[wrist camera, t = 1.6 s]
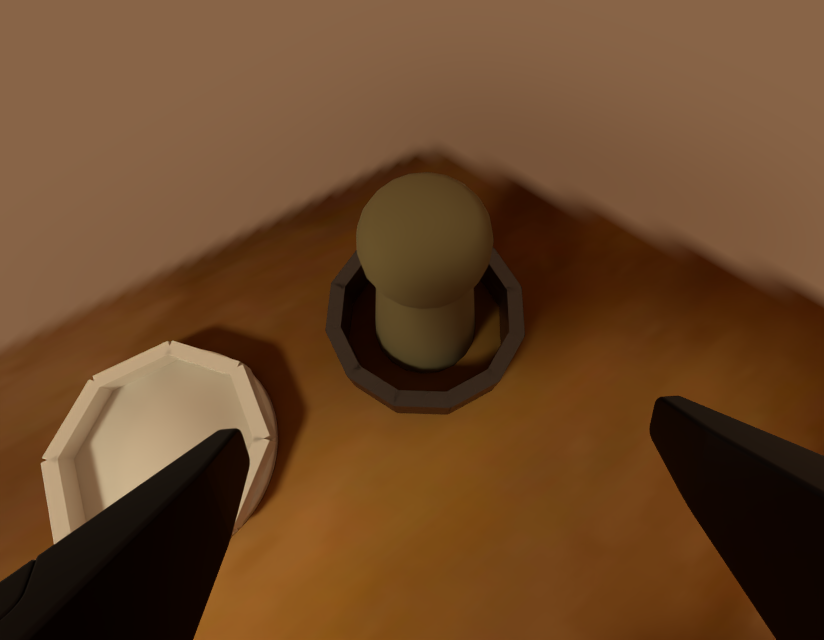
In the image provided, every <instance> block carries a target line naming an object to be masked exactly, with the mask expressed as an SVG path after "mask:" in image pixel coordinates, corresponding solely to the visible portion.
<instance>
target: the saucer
mask: <svg viewBox="0 0 824 640" xmlns="http://www.w3.org/2000/svg"><path fill="white" fill-rule="evenodd" d="M93 379H94V381H92V380H88V382H87V384H86V385H85V387H84V389H83V390H82V392H81V394H80V395H79V397H78V399H77V400H76V402H75V404H74V405H73V407H72V409H71V410H70V412H69V414H68V415H67V417H66V419H65V420H64V422H63V424H62V425H61V427H60V429H59V430H58V432H57V434H56V435H55V437H54V439H53V440H52V442H51V444H50V445H49V447H48V449H47V450H46V452H45V454H44V455H43V457H42V458H43V459H46V461H44V462H42V463H41V468H42V474H43V480H44V486H45V492H46V498H47V504H48V510H49V516H50V522H51V528H52V535H53V541H54V544H56V543H57V542H58V541H60V540H61V539H63V538H64V537H66V536H67V535H68V534H70V533H71V532H73V531H74V530H76V529H77V528H78V527H80V526H81V525H83V524H84V523H86V522H87V521H89V520H90V519H91V518H93V517H94V516H96V515H97V514H99V513H100V512H101V511H103V510H104V509H106V508H107V507H109V506H110V505H111V504H113V503H114V502H116V501H117V500H119V499H120V498H121V497H123V496H124V495H126V494H127V493H129V492H130V491H132V490H133V489H134V488H136V487H137V486H139V485H140V484H142V483H143V482H144V481H146V480H147V479H149V478H150V477H152V476H153V475H154V474H156V473H157V472H159V471H160V470H162V469H163V468H165V467H166V466H167V465H169V464H170V463H172V462H173V461H175V460H176V459H177V458H179V457H180V456H182V455H183V454H185V453H186V452H187V451H189V450H190V449H192V448H193V447H195V446H196V445H198V444H199V443H200V442H202V441H203V440H205V439H206V438H208V437H209V436H210V435H212V434H213V433H215V432H216V431H218V430H220V429H230V428H237V429H239V430H240V431H241V432H242V435H243V438H244V441H245V444H246V447H247V451H248V454H249V458H250V467H249V471H248V475H247V479H246V483H245V487H244V491H243V495H242V498H241V502H240V506H239V510H238V514H237V518H236V521H235V525H234V529H233V532H232V536H233V535H234V534H235V533H236V532H237V531H238V530H239V529H240V528H241V527H242V526H243V525H244V524H245V522H246V521H247V520H248V518H249V517H250V516H251V515H252V513H253V512H254V511H255V509H256V507H257V506H258V504H259V502H260V501H261V499H262V498H263V495H264V493H265V491H266V489H267V487H268V485H269V482H270V479H271V476H272V473H273V470H274V466H275V462H276V457H277V449H278V425H277V419H276V414H275V411H274V407H273V404H272V401H271V399H270V397H269V395H268V393H267V391H266V390H265V388H264V387H263V385H262V384H261V382H260V381H259V380H258V379H257V378H256V377H255V376H254V374H253V373H252V371H251V369H250V368H248V367H247V365H245V364H243V363H242V362H240V361H237V360H233V359H230V358H228V357H226V356H224V355H221V354H219V353H216V352H212V351H208V350H201V349H198V348H195V347H192V346H188V345H185V344H182V343H179V342H176V341H172V342H169V341H167V342H165V343H162V344H160V345H158V346H156V347H154V348H152V349H150V350H147V351H145V352H143V353H141V354H139V355H137V356H135V357H132V358H130V359H128V360H126V361H124V362H122V363H120V364H118V365H115V366H113V367H111V368H109V369H107V370H105V371H103V372H100V373H98V374H96V375H94V376H93ZM232 536H231V537H232Z"/></svg>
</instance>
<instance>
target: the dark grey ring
mask: <svg viewBox="0 0 824 640" xmlns="http://www.w3.org/2000/svg"><path fill="white" fill-rule="evenodd" d="M480 280H481V281H482V283H483V284H484V286H485V287H486V289H487V290H488V292H489V293H490V295H491V296H492V298H493V299H494V301H495V302H496V304H497V305H498V307H499V316H500V338H501V346H500V348H499V349H498V351H497V353H496V355H495V356H494V358H493V360H492V362H491V363H490V365H489V367H488V369H487V370H486V371H484V372H482V373H480V374H478V375H476V376H474V377H473V378H471V379H469V380H467V381H465V382H463V383H462V384H460V385H458V386H456V387H454V388H452V389H450V390H449V391H447V392H440V391H409V390H397V389H396V388H394V387H393V386H391V385H390V384H388V383H386V382H385V381H383V380H382V379H380V378H378V377H377V376H375V375H374V374H372V373H370V372H369V371H367V370H366V369H364V368H362V366H361V364H360V362H359V360H358V358H357V356H356V354H355V352H354V350H353V348H352V346H351V344H350V342H349V337H350V327H351V317H352V307H353V303H354V302H355V301H356V299H357V298H358V296H359V295H360V294H361V292H362V291H363V290H364V288H365V287H366V285H367V284H368V283H369V280H368V279H367V277H366V275H365V272H364V270H363V267H362V265H361V263H360V260H359V257H358V255H357V250H356V251H355V253H354V254H353V255H352V257H351V258H350V259H349V261H348V262H347V263H346V264H345V266H344V267H343V268H342V270H341V271H340V272H339V274H338V275H337V276H336V278H335V279H334V280H333V281H332V283H331V290H330V298H329V306H328V314H327V322H326V333H327V335H328V337H329V339H330V341H331V343H332V345H333V348H334V350H335V352H336V354H337V356H338V358H339V360H340V362H341V364H342V366H343V369H344V371H345V373H346V375H347V377H348V378H349V379H350V380H351V381H352V383H353V384H354V385H355V386H356V387H358V388H359V389H361V390H362V391H364V392H365V393H367V394H368V395H370V396H372V397H373V398H375V399H376V400H378V401H379V402H381V403H382V404H384V405H386V406H387V407H389V408H390V409H392V410H393V411H395V412H396V413H418V414H447V415H448V414H450V413H452V412H453V411H455V410H457V409H459V408H461V407H463V406H464V405H466V404H468V403H470V402H472V401H473V400H475V399H477V398H479V397H481V396H482V395H484V394H486V393H488V392H490V391H491V390H492V389H493V388H494V387H495V386H496V385H497V383H498V382H499V381H500V379H501V378H502V376H503V374H504V372H505V370H506V369H507V367H508V365H509V363H510V361H511V360H512V358H513V356H514V354H515V352H516V351H517V349H518V347H519V345H520V343H521V342H522V340H523V338H524V336H525V330H524V315H523V301H522V287H521V285H520V284H519V282H518V281H517V280H516V278H515V277H514V275H513V274H512V272H511V271H510V270H509V268H508V267H507V265H506V264H505V263H504V261H503V260H502V258H501V257H500V255H499V254H498V253H497V251H496V250H495V248H494V247H493V248H492V253H491V258H490V262H489V265H488V267H487V269H486V271H485V272H484V274H483V276H482V277H481V279H480Z"/></svg>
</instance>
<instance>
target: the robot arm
mask: <svg viewBox="0 0 824 640" xmlns="http://www.w3.org/2000/svg"><path fill="white" fill-rule="evenodd" d="M650 436H651V439H652V441H653V443H654V444H655V446H656V448H657V450H658V452H659V454H660V456H661V458H662V459H663V461H664V463H665V465H666V467H667V469H668V471H669V473H670V474H671V476H672V478H673V480H674V482H675V484H676V486H677V488H678V489H679V491H680V493H681V495H682V497H683V498H684V500H685V502H686V504H687V505H688V507H689V508H690V510H691V512H692V513H693V515H694V516H695V518H696V519H697V521H698V522H699V524H700V525H701V527H702V528H703V530H704V531H705V533H706V534H707V536H708V537H709V539H710V541H711V542H712V544H713V545H714V547H715V548H716V550H717V551H718V553H719V554H720V556H721V557H722V559H723V560H724V562H725V563H726V565H727V566H728V568H729V569H730V571H731V572H732V574H733V575H734V577H735V578H736V580H737V581H738V583H739V584H740V586H741V587H742V589H743V590H744V592H745V593H746V595H747V596H748V598H749V599H750V601H751V602H752V604H753V605H754V607H755V608H756V610H757V611H758V613H759V614H760V616H761V617H762V619H763V620H764V622H765V623H766V625H767V626H768V628H769V629H770V631H771V632H772V634H773V635H774V637H775V638H776V640H824V456H823V455H820V454H818V453H815V452H813V451H811V450H808V449H806V448H803V447H801V446H799V445H796V444H794V443H791V442H789V441H787V440H784V439H782V438H779V437H777V436H775V435H772V434H770V433H767V432H765V431H763V430H760V429H758V428H755V427H753V426H751V425H748V424H746V423H743V422H741V421H739V420H736V419H734V418H731V417H729V416H726V415H724V414H722V413H719V412H717V411H714V410H712V409H710V408H707V407H705V406H702V405H700V404H698V403H695V402H693V401H690V400H688V399H686V398H683V397H681V396H666V397H660V398H658V399H657V400H656V401H655V405H654V409H653V414H652V418H651V423H650ZM249 467H250V458H249V454H248V451H247V447H246V444H245V441H244V438H243V435H242V432H241V431H240V430H239V429H237V428H230V429H220V430H218V431H216V432H215V433H213V434H212V435H210V436H209V437H208V438H206V439H205V440H203V441H202V442H200V443H199V444H198V445H196V446H195V447H193V448H192V449H190V450H189V451H187V452H186V453H185V454H183V455H182V456H180V457H179V458H177V459H176V460H175V461H173V462H172V463H170V464H169V465H167V466H166V467H165V468H163V469H162V470H160V471H159V472H157V473H156V474H154V475H153V476H152V477H150V478H149V479H147V480H146V481H144V482H143V483H142V484H140V485H139V486H137V487H136V488H134V489H133V490H132V491H130V492H129V493H127V494H126V495H124V496H123V497H121V498H120V499H119V500H117V501H116V502H114V503H113V504H111V505H110V506H109V507H107V508H106V509H104V510H103V511H101V512H100V513H99V514H97V515H96V516H94V517H93V518H91V519H90V520H89V521H87V522H86V523H84V524H83V525H81V526H80V527H78V528H77V529H76V530H74V531H73V532H71V533H70V534H68V535H67V536H66V537H64V538H63V539H61V540H60V541H58V542H57V543H56V544H54V545H53V546H51V547H50V548H48V549H47V550H45V551H44V552H43V553H41V554H40V555H38V557H37V558H36V560H31V561H29V562H28V563H27V564H25V565H24V566H22V567H21V568H20V569H18V570H17V571H15V572H14V573H12V574H11V575H10V576H8V577H7V578H5V579H4V580H2V581H1V582H0V640H193V639H194V636H195V633H196V631H197V628H198V625H199V623H200V620H201V617H202V615H203V612H204V609H205V606H206V604H207V601H208V598H209V596H210V593H211V590H212V588H213V585H214V582H215V580H216V577H217V574H218V572H219V569H220V566H221V564H222V561H223V558H224V556H225V553H226V550H227V547H228V545H229V542H230V539H231V536H232V532H233V529H234V525H235V521H236V518H237V514H238V510H239V506H240V502H241V498H242V495H243V491H244V487H245V483H246V479H247V475H248V471H249Z"/></svg>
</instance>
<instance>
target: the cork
mask: <svg viewBox="0 0 824 640" xmlns="http://www.w3.org/2000/svg"><path fill="white" fill-rule="evenodd" d="M356 241H357V255H358V257H359V260H360V263H361V265H362V267H363V270H364V272H365V275H366V277H367V279H368V280H369V281H370V282H371V283H372V284H373V285H374V286H375V287H376V312H375V325H376V337H377V340H378V342H379V345H380V347H381V349H382V351H383V352H384V353H385V354H386V356H387V357H388V358H389V359H390V360H391V361H392V362H393V363H395V364H397V365H398V366H400V367H402V368H403V369H405V370H409V371H413V372H417V373H432V372H439V371H441V370H444V369H446V368H448V367H451V366H453V365H454V364H455V363H456V362H458V361H459V360H460V359H461V358H462V357H463V356H464V355H465V354H466V352H467V350H468V349H469V347H470V345H471V343H472V341H473V336H474V331H475V310H474V287H475V286H476V285H477V284H478V282H479V281H480V279H481V277H482V276H483V274H484V272H485V271H486V269H487V267H488V265H489V262H490V258H491V253H492V248H493V242H494V239H493V232H492V226H491V221H490V216H489V213H488V211H487V210H486V208H485V206H484V205H483V203H482V201H481V200H480V198H479V197H478V196H477V195H476V194H475V193H474V192H473V191H471V190H470V189H469V188H468V187H467V186H466V185H465V184H463V183H462V182H460V181H458V180H456V179H453V178H451V177H449V176H447V175H442V174H436V173H430V172H424V173H413V174H408V175H405V176H402V177H399V178H397V179H394V180H392V181H390V182H389V183H388V184H386V185H385V186H383V187H382V188H381V189H379V190H378V191H377V192H376V193H375V194H374V196H373V197H372V198H371V199H370V201H369V202H368V203H367V205H366V206H365V207H364V209H363V211H362V214H361V217H360V220H359V223H358V226H357V233H356Z"/></svg>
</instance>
